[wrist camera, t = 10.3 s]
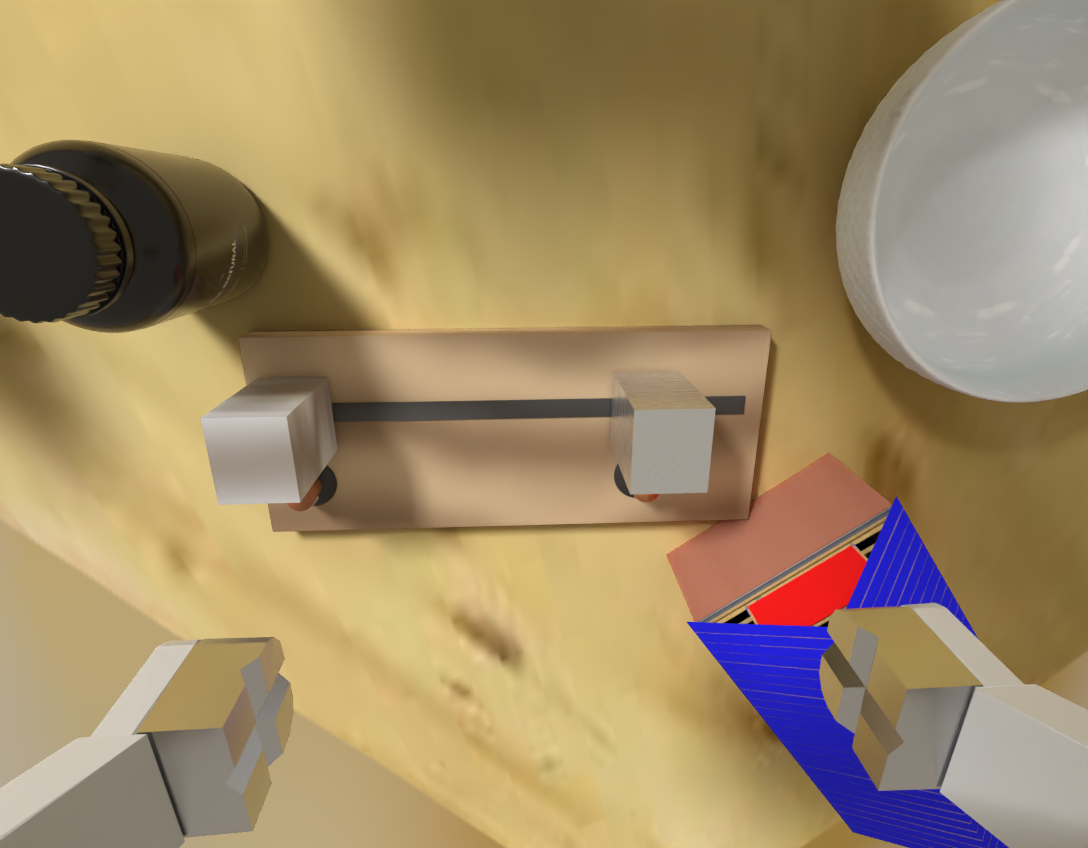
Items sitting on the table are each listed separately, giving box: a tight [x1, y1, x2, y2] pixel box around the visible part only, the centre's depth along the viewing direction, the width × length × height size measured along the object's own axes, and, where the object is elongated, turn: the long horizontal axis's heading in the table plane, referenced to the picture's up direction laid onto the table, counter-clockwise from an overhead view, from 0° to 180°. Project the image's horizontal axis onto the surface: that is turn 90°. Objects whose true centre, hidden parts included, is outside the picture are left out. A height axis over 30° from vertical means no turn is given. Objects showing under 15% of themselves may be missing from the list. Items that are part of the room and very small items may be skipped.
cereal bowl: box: [835, 0, 1088, 403], centre depth 28 cm, size 17×17×7 cm
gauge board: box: [200, 325, 772, 532], centre depth 31 cm, size 11×27×8 cm, turn 90°
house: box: [667, 453, 1009, 848], centre depth 34 cm, size 12×20×12 cm, turn 36°
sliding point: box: [610, 371, 716, 503], centre depth 30 cm, size 7×4×6 cm, turn 0°
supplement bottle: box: [0, 140, 268, 333], centre depth 24 cm, size 7×7×12 cm
